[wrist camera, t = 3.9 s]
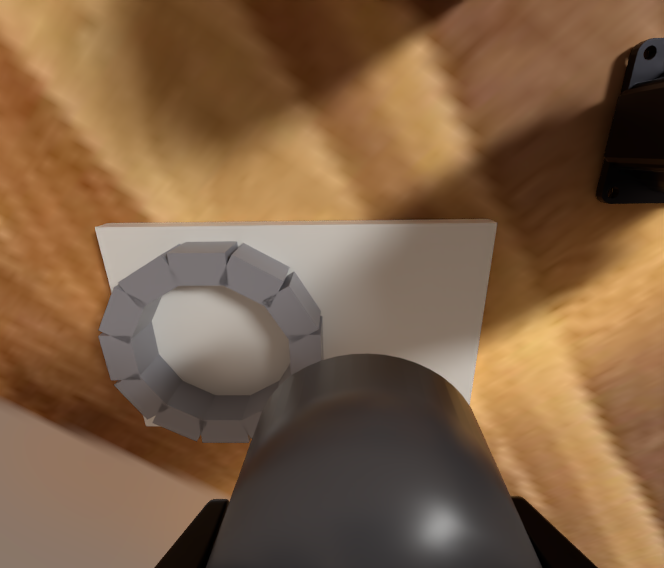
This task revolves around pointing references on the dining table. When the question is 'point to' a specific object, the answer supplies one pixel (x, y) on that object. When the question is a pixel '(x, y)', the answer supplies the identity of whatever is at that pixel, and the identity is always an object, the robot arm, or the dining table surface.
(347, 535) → the cap
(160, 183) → the dining table surface
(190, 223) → the plate
